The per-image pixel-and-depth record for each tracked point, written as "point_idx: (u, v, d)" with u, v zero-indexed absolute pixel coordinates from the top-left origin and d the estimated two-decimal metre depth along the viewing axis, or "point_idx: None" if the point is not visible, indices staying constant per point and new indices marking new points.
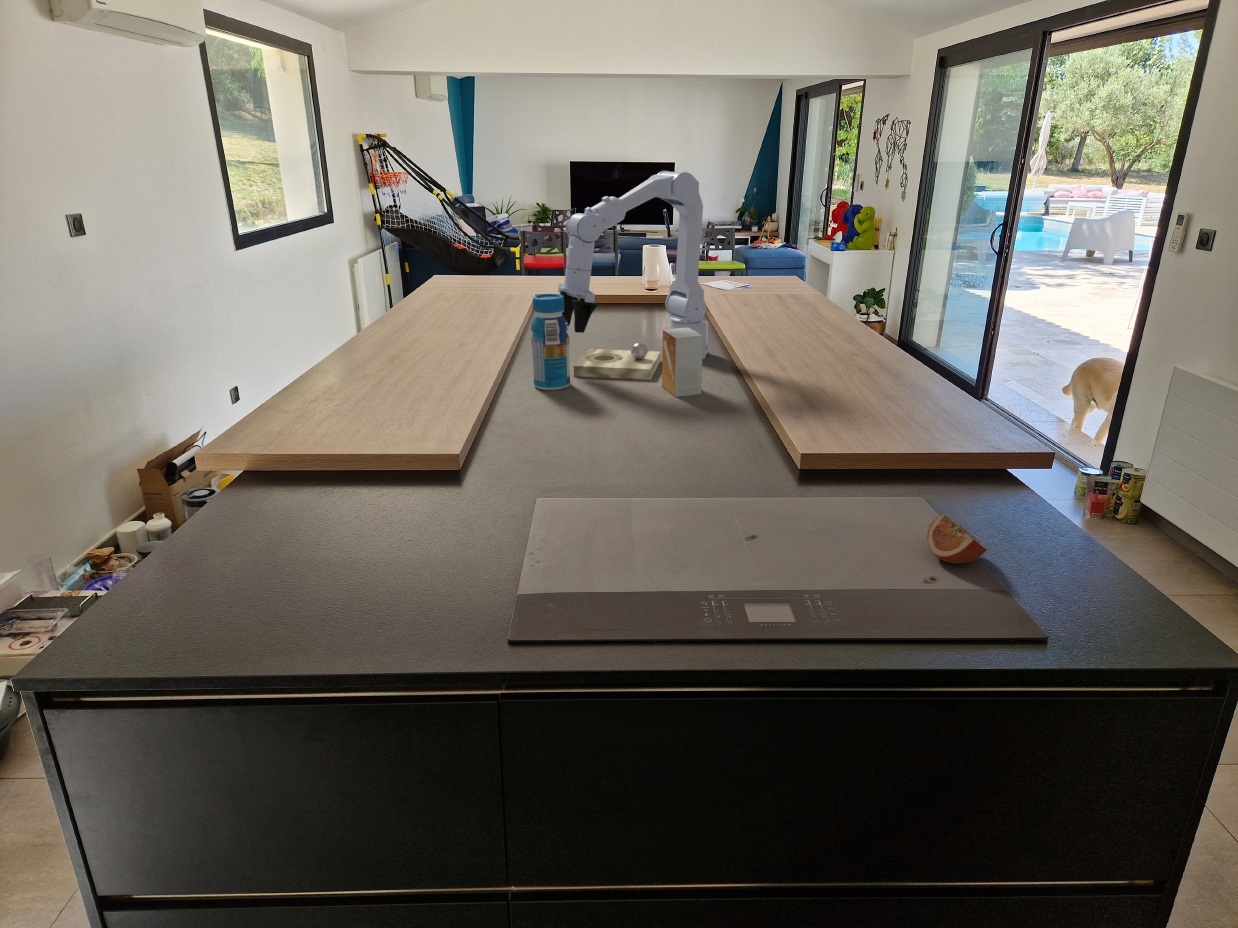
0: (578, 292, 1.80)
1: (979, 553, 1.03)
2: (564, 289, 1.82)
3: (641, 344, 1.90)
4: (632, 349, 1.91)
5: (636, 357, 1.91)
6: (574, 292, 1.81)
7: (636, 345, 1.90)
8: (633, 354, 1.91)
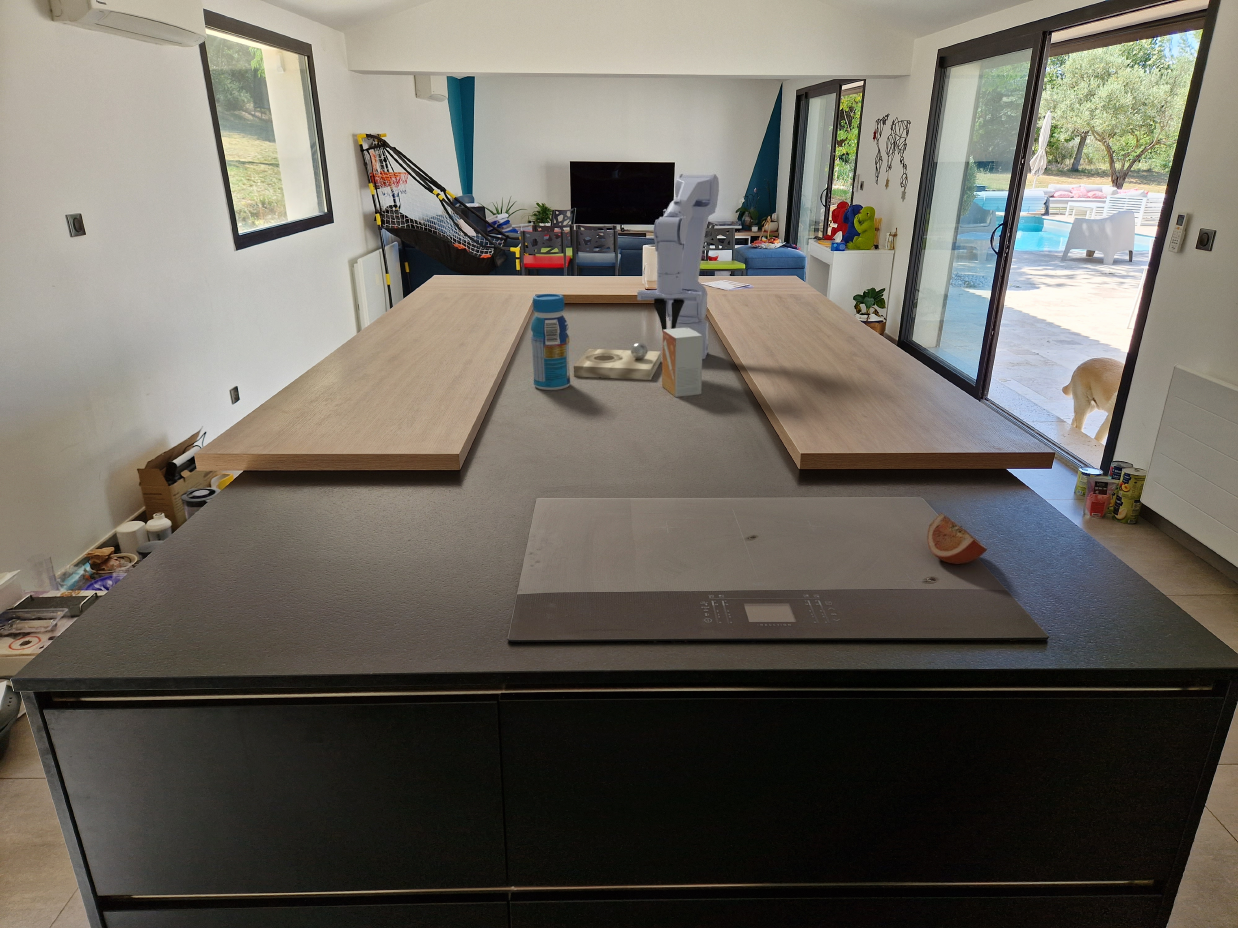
0: (687, 294, 1.83)
1: (979, 553, 1.03)
2: (671, 296, 1.82)
3: (641, 344, 1.90)
4: (632, 349, 1.91)
5: (636, 357, 1.91)
6: (682, 296, 1.83)
7: (636, 345, 1.90)
8: (633, 354, 1.91)
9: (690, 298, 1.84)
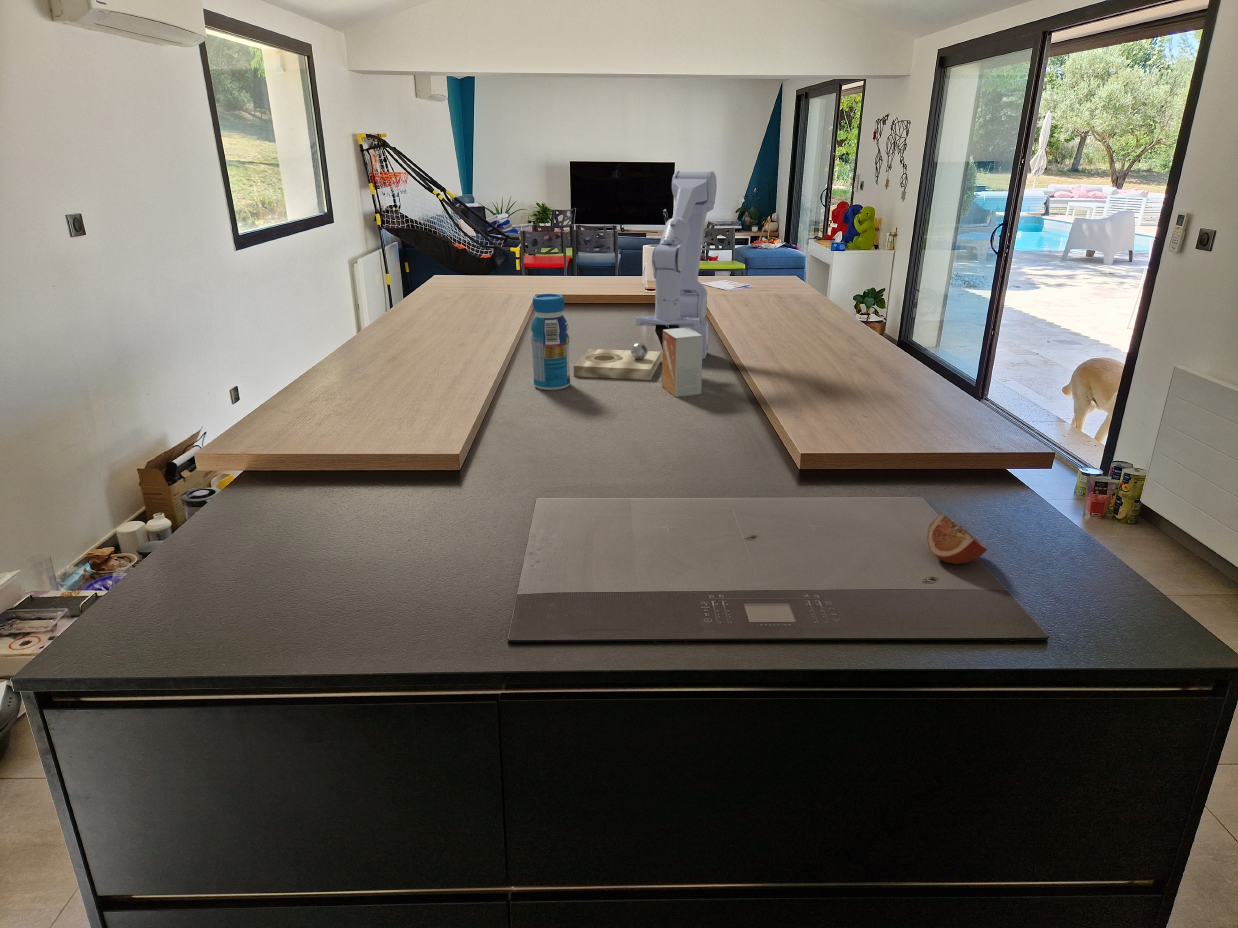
0: (685, 321, 1.85)
1: (979, 553, 1.03)
2: (669, 322, 1.84)
3: (641, 344, 1.90)
4: (632, 349, 1.91)
5: (636, 357, 1.91)
6: (680, 322, 1.85)
7: (636, 345, 1.90)
8: (633, 354, 1.91)
9: (688, 324, 1.87)
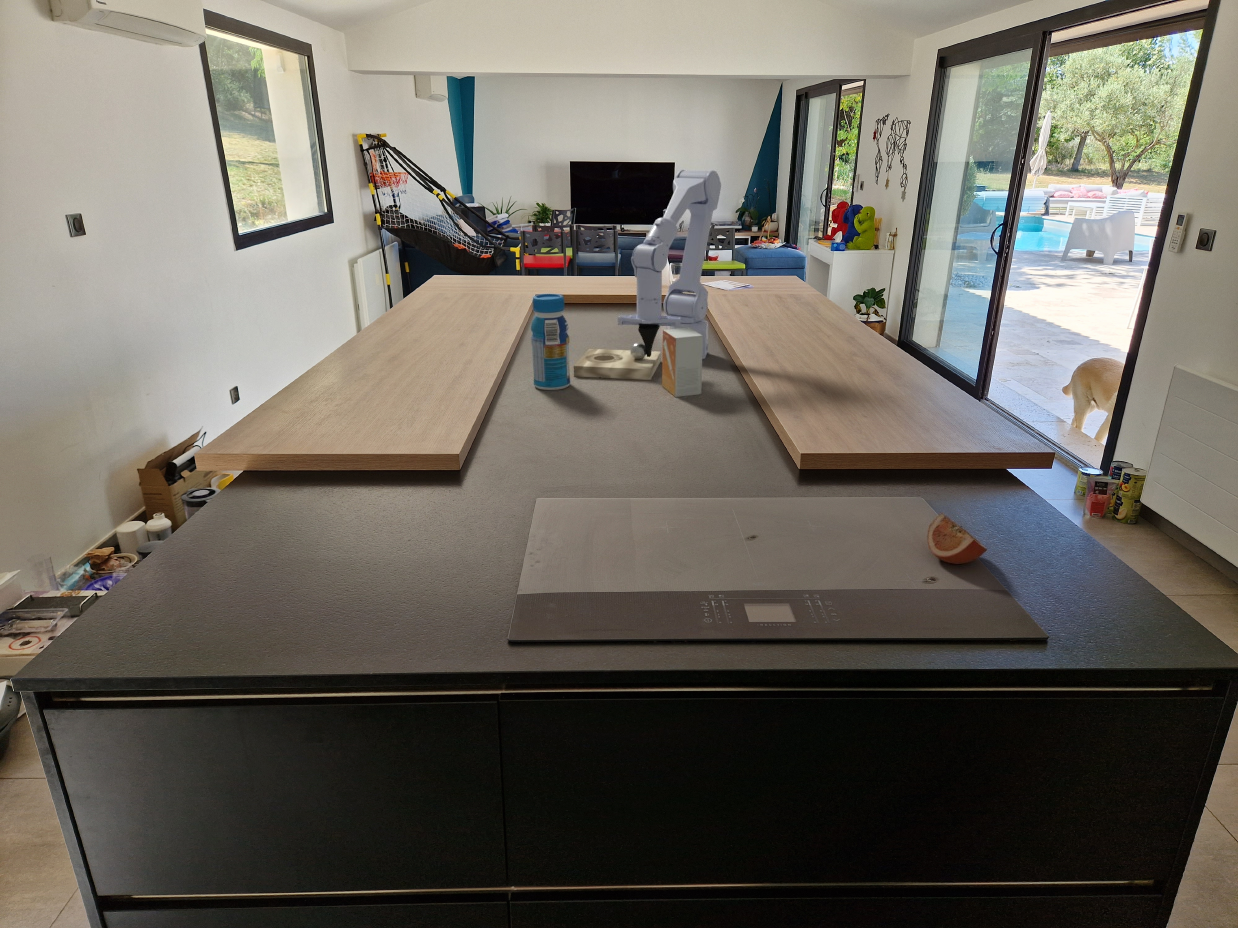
0: (666, 320, 1.86)
1: (979, 553, 1.03)
2: (651, 321, 1.85)
3: (640, 344, 1.91)
4: (631, 349, 1.91)
5: (636, 357, 1.91)
6: (661, 321, 1.86)
7: (635, 345, 1.90)
8: (633, 355, 1.91)
9: (669, 323, 1.88)
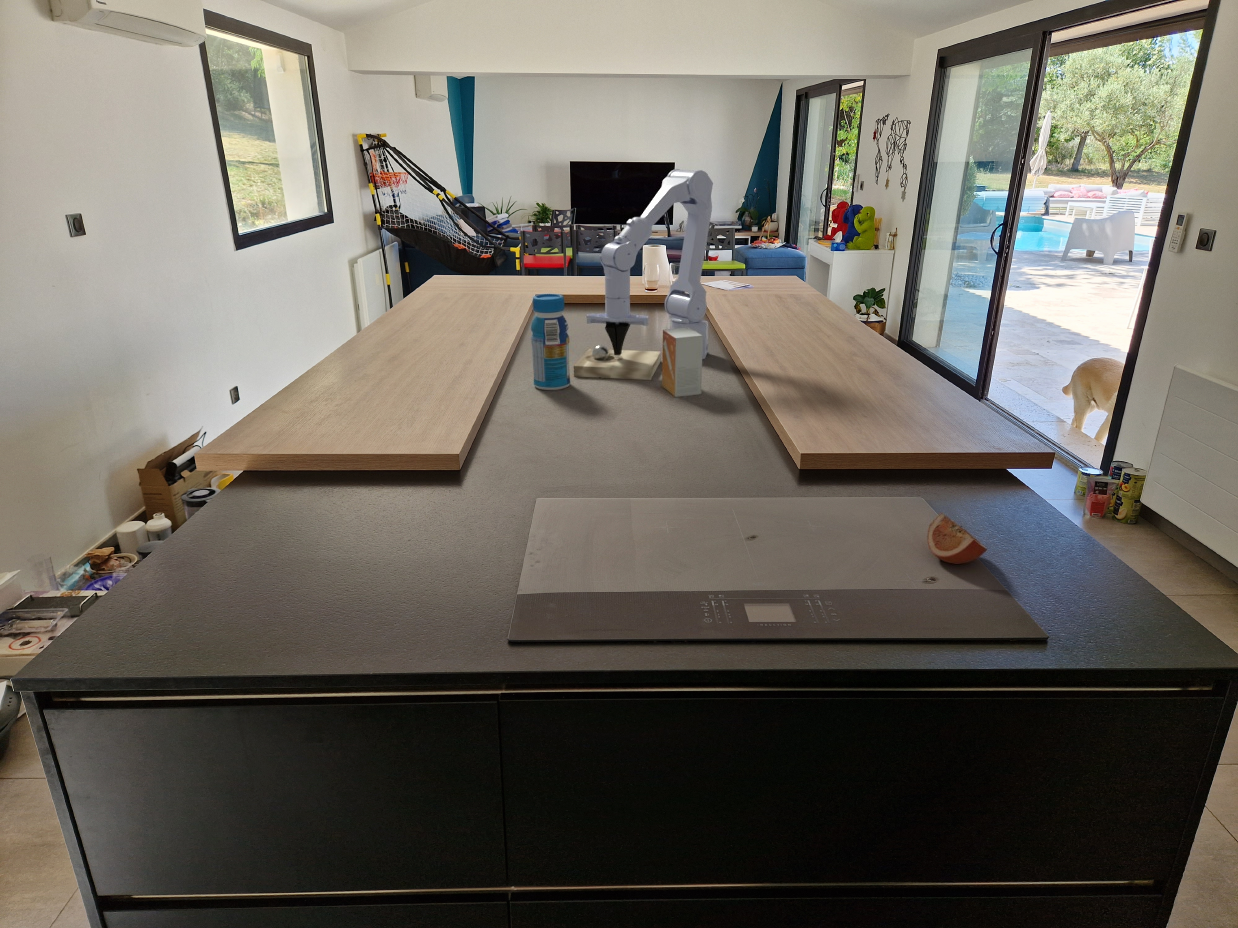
0: (634, 318, 1.87)
1: (979, 553, 1.03)
2: (619, 319, 1.86)
3: None
4: (606, 353, 1.93)
5: (598, 348, 1.92)
6: (629, 320, 1.87)
7: (605, 358, 1.93)
8: (602, 350, 1.92)
9: (638, 322, 1.89)
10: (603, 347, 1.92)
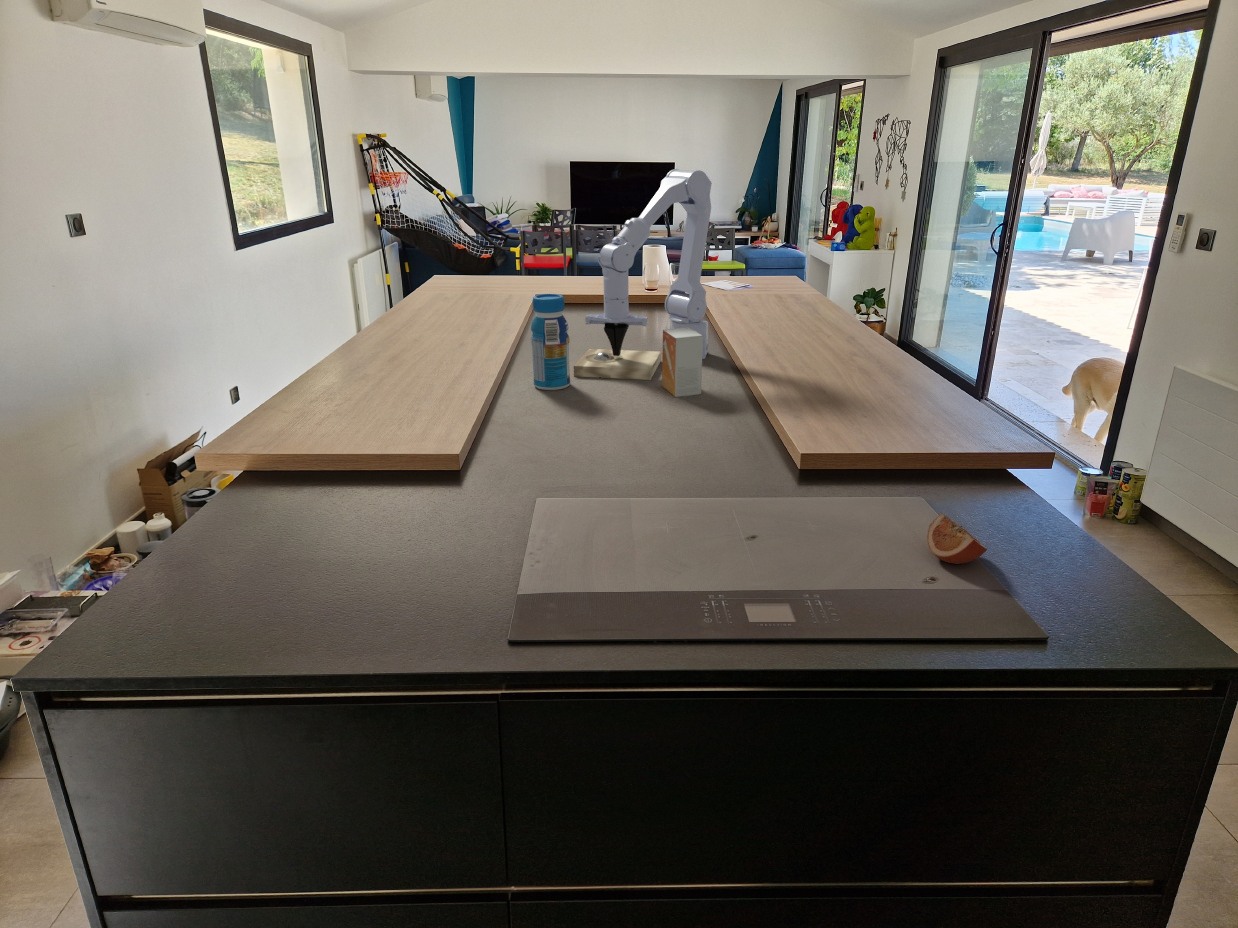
0: (633, 319, 1.88)
1: (979, 553, 1.03)
2: (617, 320, 1.86)
3: None
4: None
5: (606, 360, 1.92)
6: (628, 320, 1.87)
7: None
8: None
9: (636, 322, 1.89)
10: (609, 358, 1.93)
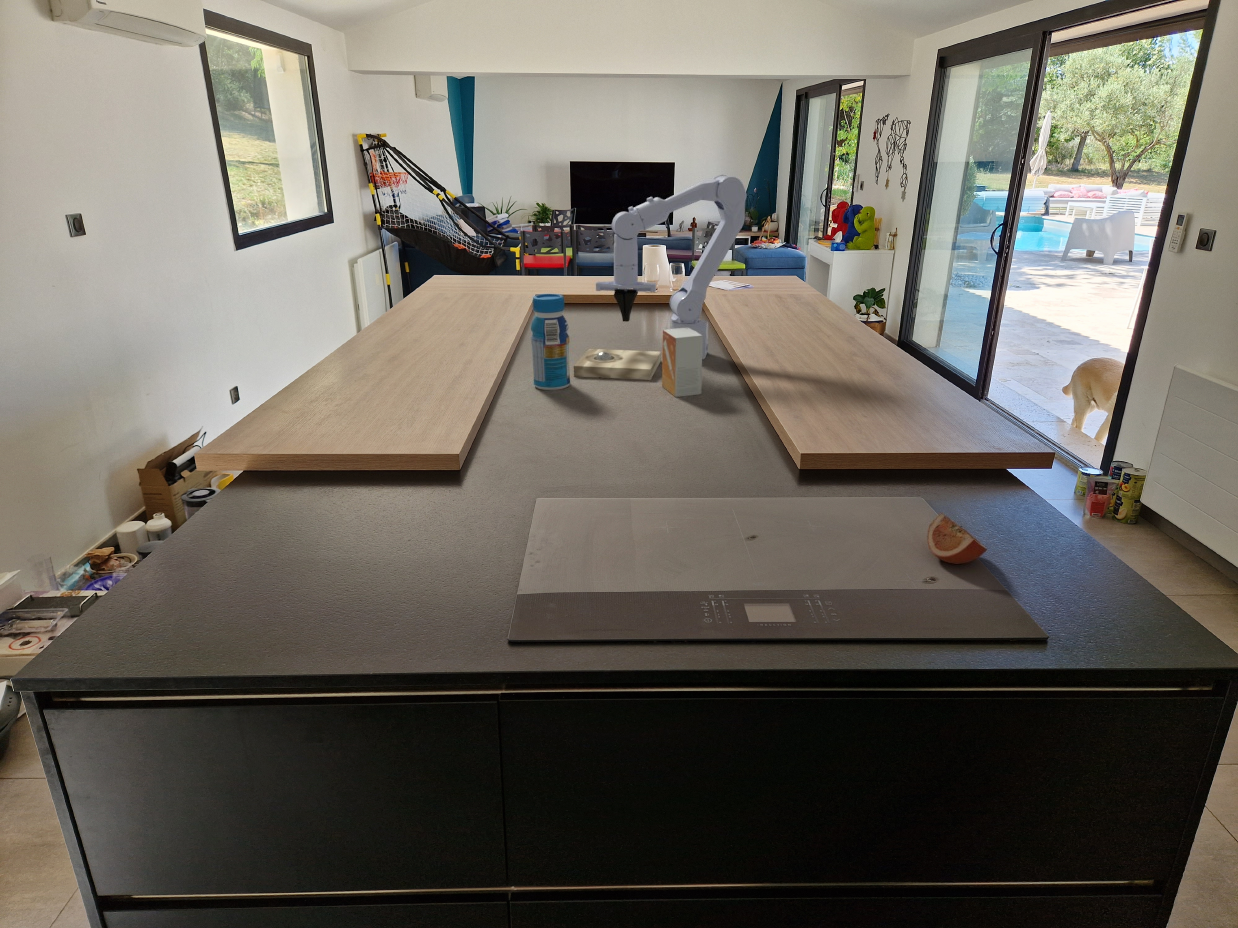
0: (642, 285, 1.94)
1: (979, 553, 1.03)
2: (627, 286, 1.93)
3: None
4: None
5: (607, 359, 1.93)
6: (637, 286, 1.94)
7: None
8: None
9: (645, 289, 1.96)
10: (610, 358, 1.93)
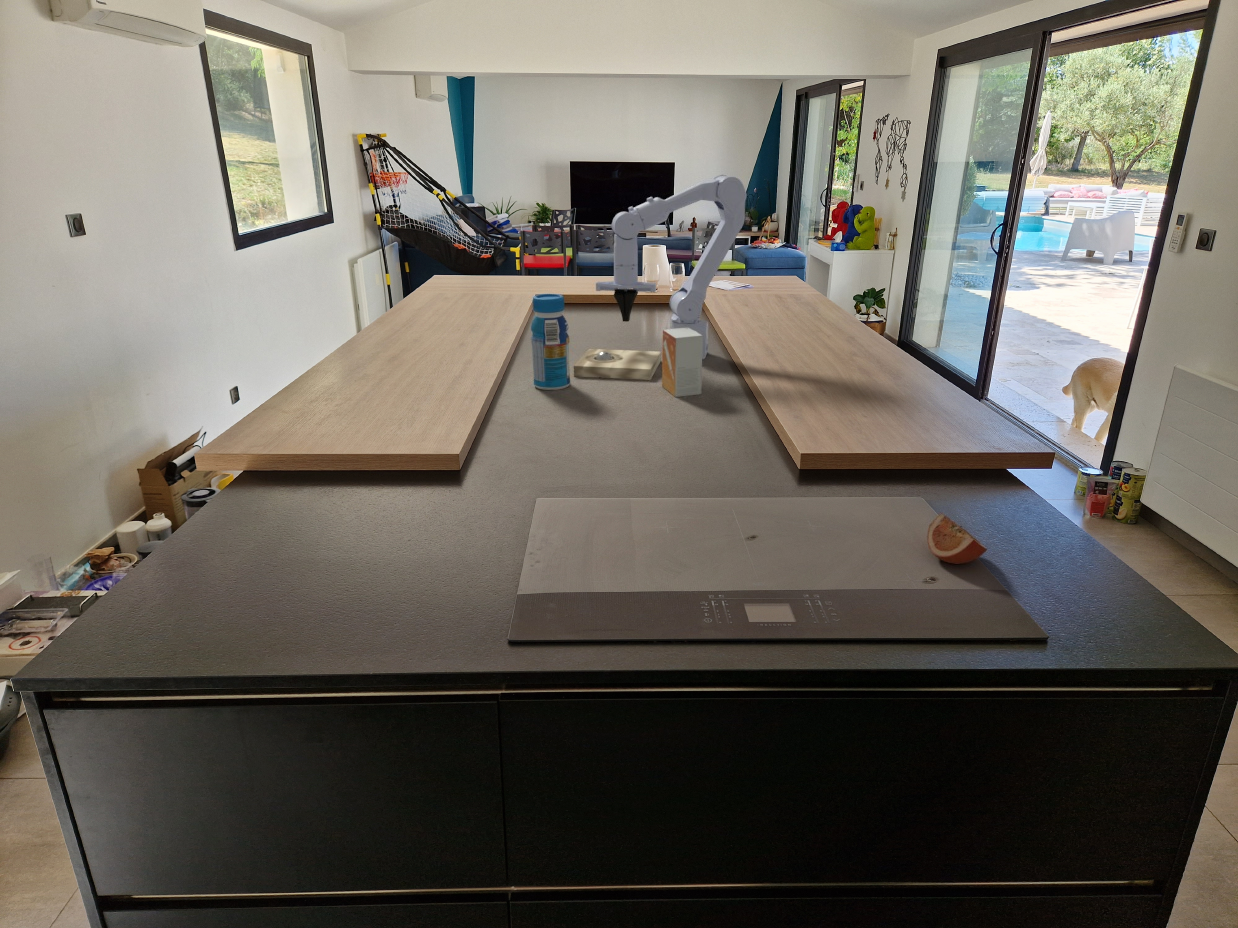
0: (642, 285, 1.94)
1: (979, 553, 1.03)
2: (627, 286, 1.93)
3: None
4: None
5: (608, 358, 1.93)
6: (637, 286, 1.94)
7: None
8: None
9: (645, 289, 1.96)
10: (611, 358, 1.94)
